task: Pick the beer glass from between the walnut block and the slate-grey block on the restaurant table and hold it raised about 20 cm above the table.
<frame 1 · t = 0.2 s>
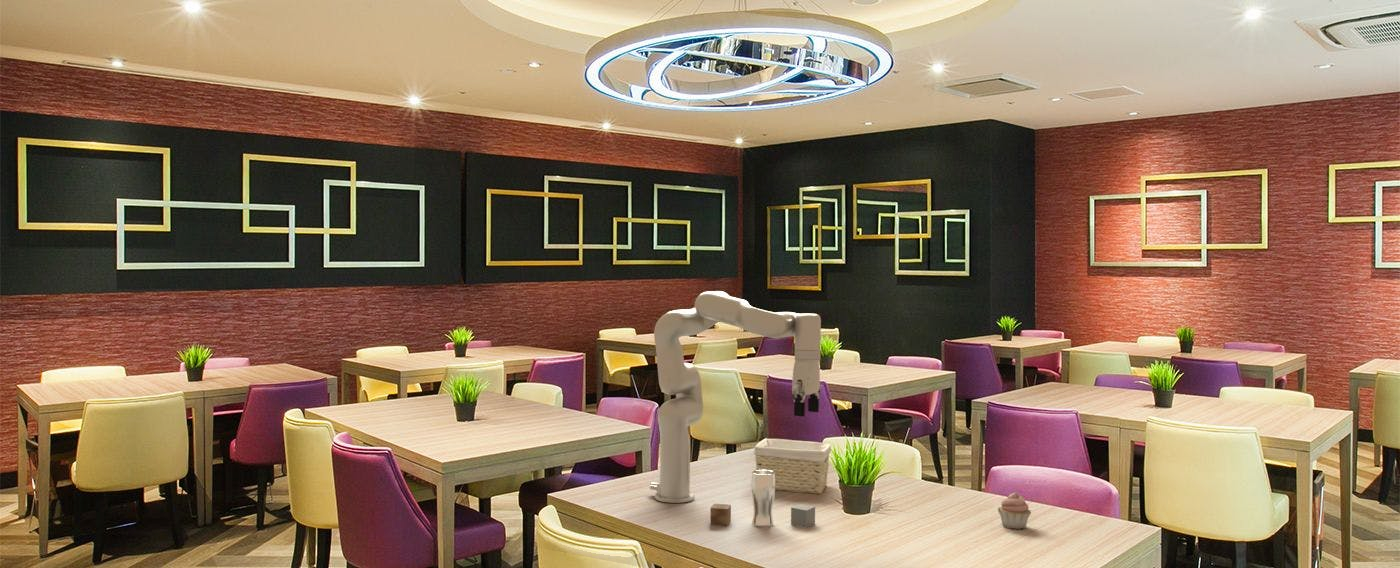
hand: (806, 413, 268), 31 cm above the table, fingers open, 9 cm apart
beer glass: (762, 525, 262), on the table
slate-grey block: (802, 524, 263), on the table
walnut block: (720, 523, 263), on the table
cupcake: (1014, 527, 263), on the table
storage basket: (792, 488, 307), on the table
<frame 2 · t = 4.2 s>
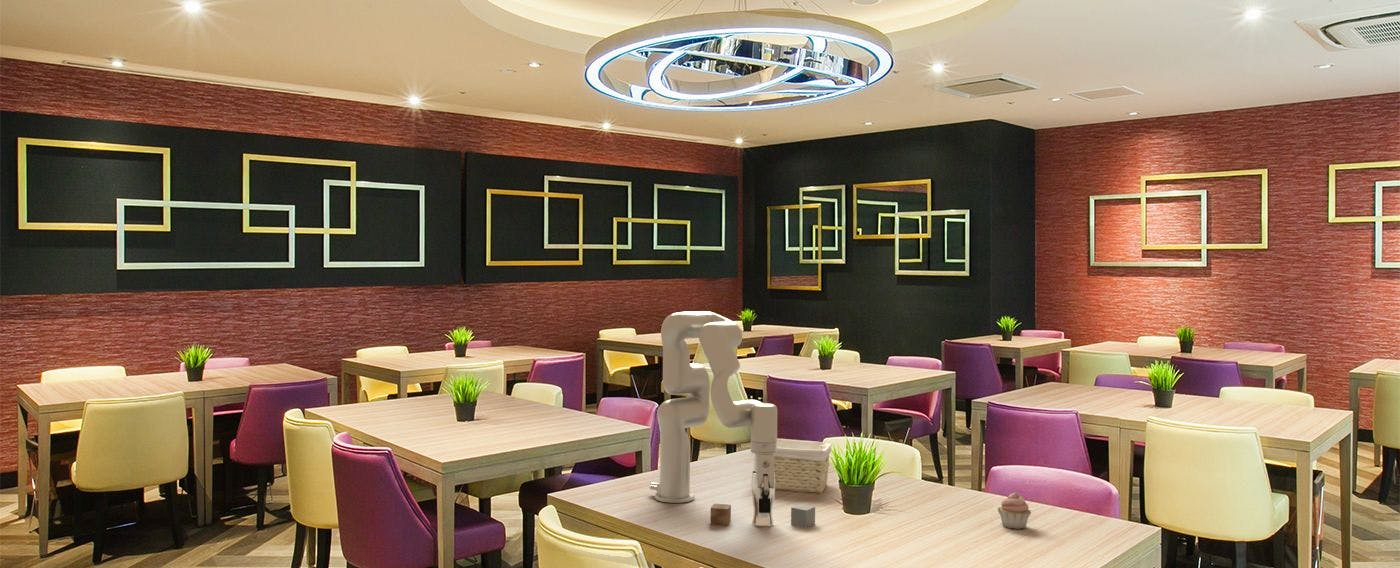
hand: (762, 508, 262), 4 cm above the table, fingers closed on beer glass, 6 cm apart
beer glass: (762, 525, 262), on the table, touching gripper
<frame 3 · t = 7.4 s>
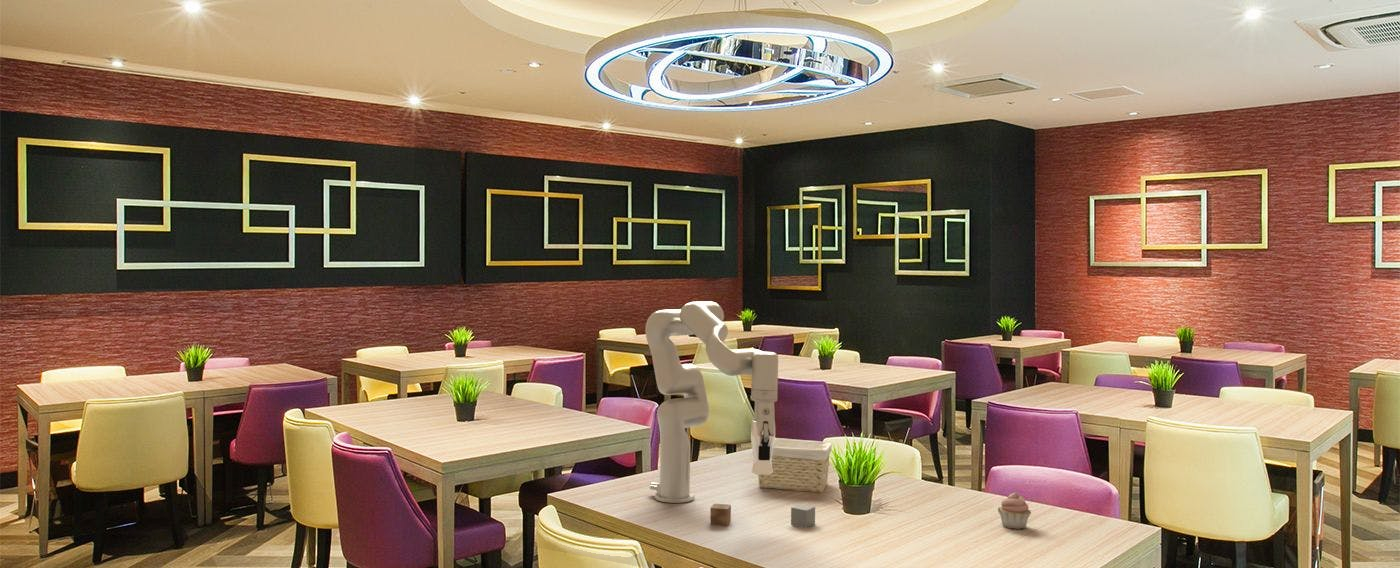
hand: (762, 456, 262), 19 cm above the table, fingers closed on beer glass, 6 cm apart
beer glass: (762, 473, 262), point 15 cm above the table, touching gripper
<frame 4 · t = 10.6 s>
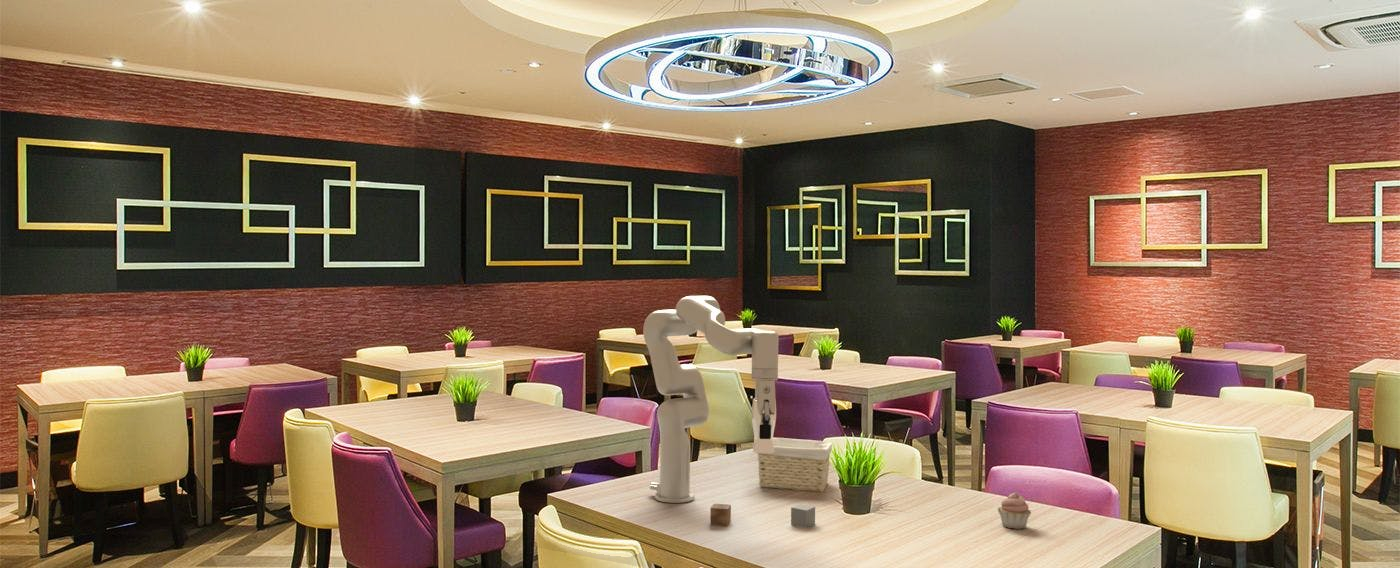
hand: (763, 435, 262), 25 cm above the table, fingers closed on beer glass, 6 cm apart
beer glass: (763, 452, 262), point 21 cm above the table, touching gripper
at the end: the gripper is holding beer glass; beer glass point 20.7 cm above the table; walnut block moved 0.1 cm from its start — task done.
